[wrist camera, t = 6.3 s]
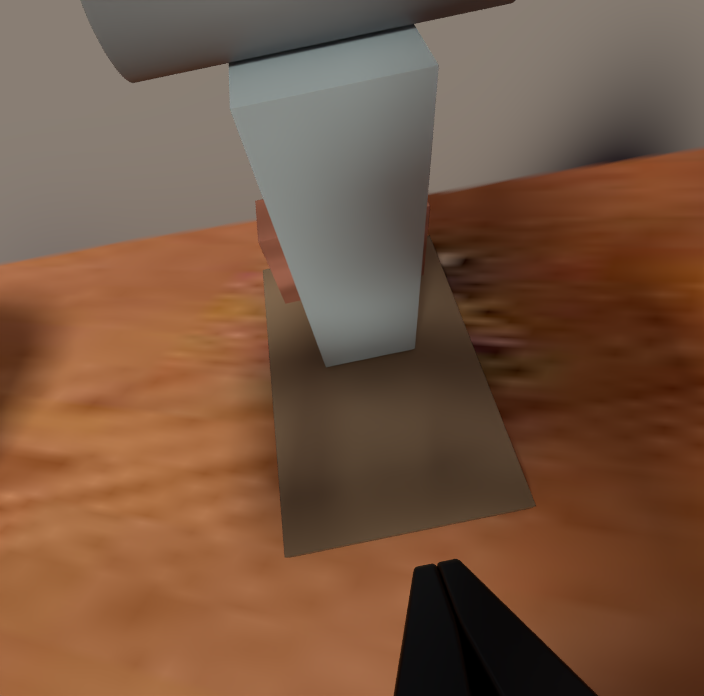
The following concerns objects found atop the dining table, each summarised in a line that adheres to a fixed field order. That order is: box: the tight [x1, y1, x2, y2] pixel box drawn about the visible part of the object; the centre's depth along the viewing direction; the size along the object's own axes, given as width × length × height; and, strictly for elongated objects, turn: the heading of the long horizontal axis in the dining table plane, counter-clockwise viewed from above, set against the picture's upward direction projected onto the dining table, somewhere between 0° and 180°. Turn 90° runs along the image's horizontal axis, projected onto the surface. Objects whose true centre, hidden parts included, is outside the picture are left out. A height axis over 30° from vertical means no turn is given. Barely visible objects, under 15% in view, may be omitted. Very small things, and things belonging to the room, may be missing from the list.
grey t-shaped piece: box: [81, 0, 515, 367], centre depth 12 cm, size 4×8×13 cm, turn 100°
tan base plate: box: [255, 199, 536, 558], centre depth 15 cm, size 14×9×5 cm, turn 10°
